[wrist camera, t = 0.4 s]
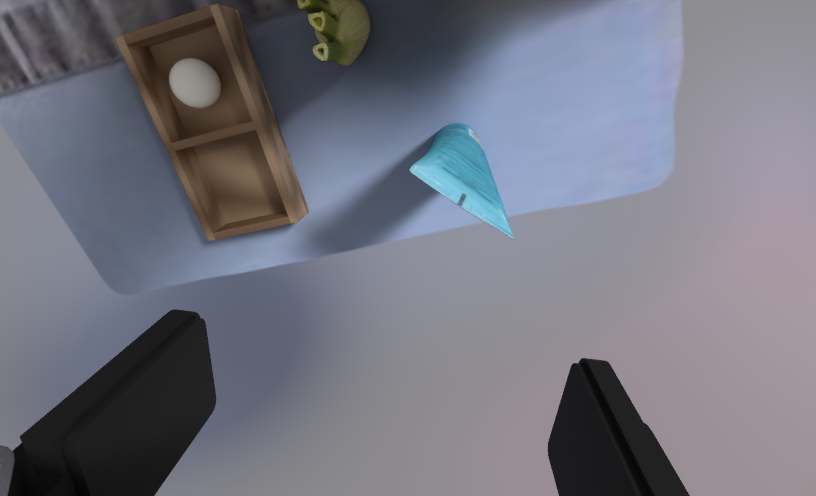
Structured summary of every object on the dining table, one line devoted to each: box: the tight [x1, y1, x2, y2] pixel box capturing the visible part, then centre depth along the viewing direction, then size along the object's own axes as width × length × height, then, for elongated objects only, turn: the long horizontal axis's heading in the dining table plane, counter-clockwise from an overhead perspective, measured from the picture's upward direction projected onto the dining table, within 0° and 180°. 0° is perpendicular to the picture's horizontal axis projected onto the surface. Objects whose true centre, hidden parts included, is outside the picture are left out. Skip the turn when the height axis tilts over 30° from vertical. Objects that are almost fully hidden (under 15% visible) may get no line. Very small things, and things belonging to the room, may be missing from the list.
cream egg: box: [169, 58, 221, 108], centre depth 38 cm, size 4×4×4 cm
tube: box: [409, 123, 513, 239], centre depth 32 cm, size 7×5×19 cm, turn 62°
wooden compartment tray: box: [115, 3, 309, 241], centre depth 41 cm, size 20×11×4 cm, turn 14°
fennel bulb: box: [296, 0, 371, 66], centre depth 32 cm, size 6×5×12 cm
